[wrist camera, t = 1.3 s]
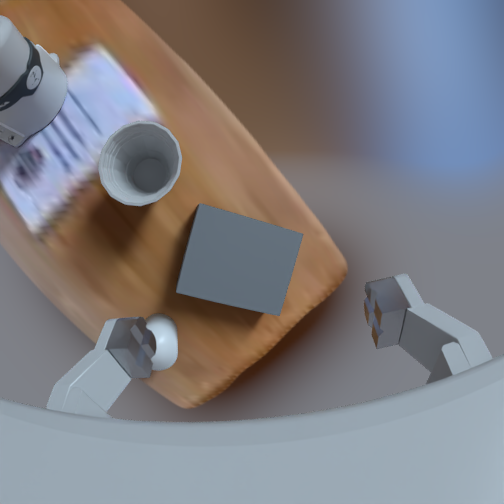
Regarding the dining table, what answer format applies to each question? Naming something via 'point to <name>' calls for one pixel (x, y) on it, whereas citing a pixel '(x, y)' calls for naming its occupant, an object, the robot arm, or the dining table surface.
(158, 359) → the white rounded domed part
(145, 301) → the dining table surface
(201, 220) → the shelf
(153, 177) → the plastic cup
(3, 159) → the dining table surface
